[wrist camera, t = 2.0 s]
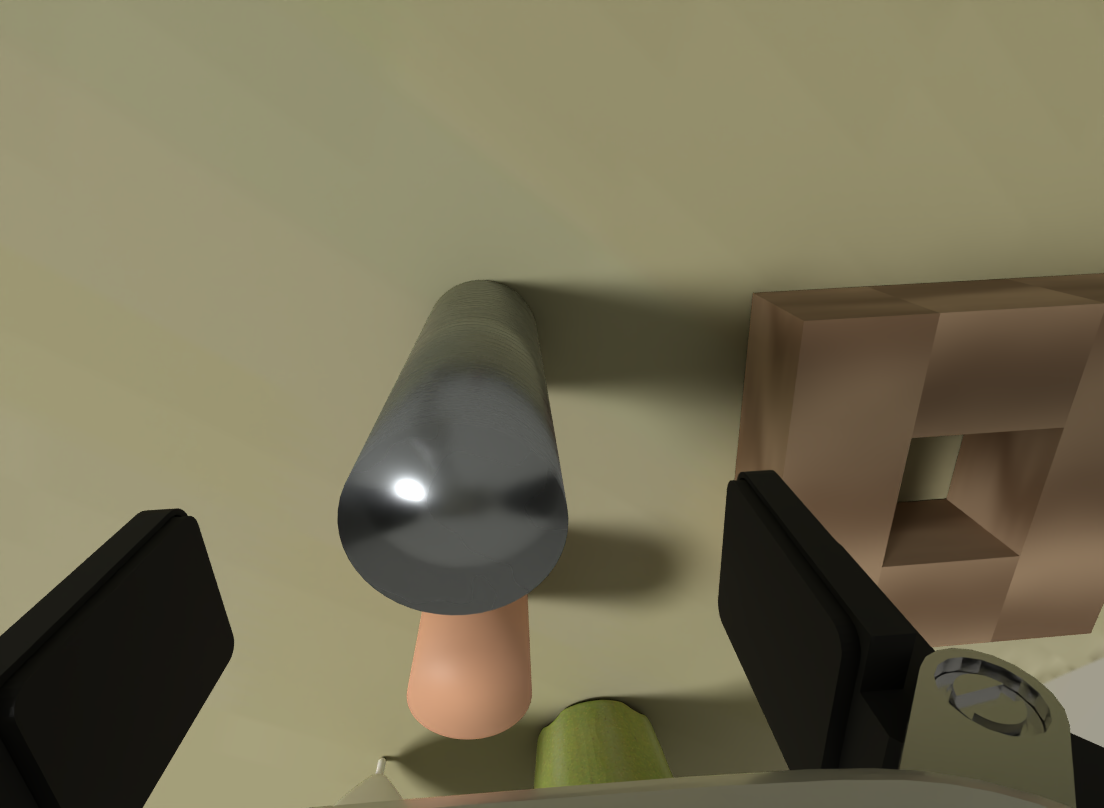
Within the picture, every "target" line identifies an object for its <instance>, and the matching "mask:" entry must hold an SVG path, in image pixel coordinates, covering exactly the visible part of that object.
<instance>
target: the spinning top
mask: <svg viewBox="0 0 1104 808" xmlns="http://www.w3.org/2000/svg"><path fill="white" fill-rule="evenodd" d="M385 764H386V760H385V758H381V759H379V761H378V766H377V770H376V774H374V775H371V776H370V777H368V778H367V779H365V780H364V781H363V782H361V783H360V784H359V785H357V786H356V787H355V788H353V789H352V790H351V791H350V792H348V793H347V794H346V795H345V796H344V797H342V798H341V799H340V800H339V801H338V802H337V803H336V804H334V805H346V804H358V803H369V802H381V801H393V800H403V799H402V797H401V795H400V794H399V792H398V791H397V789H396V788H395V787H394V785H393V784H392V783H391V781H390V780H389V779H388V778H387V777H386V776H385V775H383V774H384V769H385ZM334 805H333V806H334Z"/></svg>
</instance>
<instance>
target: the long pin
mask: <svg viewBox="0 0 1104 808" xmlns="http://www.w3.org/2000/svg"><path fill="white" fill-rule="evenodd" d="M338 529H339V535H340V539H341V542H342V545H343V548H344V550H345V552H346V555H347V557H348V559H349V560H350V562H351V563H352V565H353V566H354V568H355V569H356V571H357V572H358V573H359V574H360V575H361V576H362V578H363V579H364V580H365V581H366V582H368V583H369V584H370V585H371V586H372V587H373V588H374V589H376V590H377V591H379V592H380V593H381V594H383V595H384V596H386V597H388V598H389V599H391V600H393V601H395V602H397V603H399V604H402V605H404V606H407V607H409V608H412V609H416V610H419V611H423V612H427V613H433V614H440V615H470V614H477V613H483V612H487V611H491V610H495V609H497V608H500V607H503V606H506V605H508V604H510V603H512V602H514V601H516V600H518V599H520V598H521V597H523V596H525V595H526V594H528V593H529V592H531V591H532V590H533V589H534V588H535V587H537V586H538V585H539V584H540V583H541V582H542V581H543V580H544V579H545V578H546V577H547V576H548V575H549V573H550V572H551V570H552V569H553V568H554V566H555V565H556V563H557V561H558V559H559V557H560V556H561V553H562V551H563V548H564V545H565V542H566V537H567V532H568V511H567V504H566V498H565V492H564V486H563V480H562V474H561V468H560V462H559V456H558V450H557V444H556V438H555V433H554V427H553V421H552V415H551V409H550V403H549V397H548V391H547V385H546V379H545V373H544V367H543V361H542V355H541V350H540V344H539V338H538V332H537V326H536V322H535V318H534V315H533V313H532V311H531V309H530V307H529V306H528V304H527V303H526V302H525V300H524V299H523V298H522V297H521V296H520V295H519V294H518V293H516V292H515V291H514V290H512V289H511V288H509V287H507V286H505V285H503V284H500V283H497V282H493V281H487V280H475V281H468V282H465V283H462V284H459V285H457V286H455V287H453V288H451V289H450V290H448V291H447V292H446V293H445V294H444V295H443V296H442V297H441V298H440V299H439V300H438V301H437V303H436V304H435V306H434V308H433V309H432V311H431V313H430V315H429V317H428V319H427V321H426V323H425V325H424V327H423V329H422V331H421V333H420V335H419V337H418V339H417V341H416V343H415V345H414V347H413V349H412V351H411V353H410V355H409V357H408V359H407V361H406V363H405V365H404V367H403V369H402V371H401V373H400V375H399V377H398V379H397V381H396V383H395V385H394V387H393V389H392V391H391V393H390V395H389V397H388V399H387V401H386V403H385V405H384V407H383V409H382V411H381V413H380V415H379V417H378V419H377V421H376V423H375V425H374V427H373V429H372V431H371V433H370V435H369V437H368V439H367V441H366V443H365V445H364V447H363V449H362V451H361V453H360V455H359V457H358V459H357V461H356V463H355V465H354V467H353V469H352V471H351V473H350V475H349V477H348V479H347V481H346V483H345V485H344V488H343V491H342V494H341V496H340V501H339V507H338Z"/></svg>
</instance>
